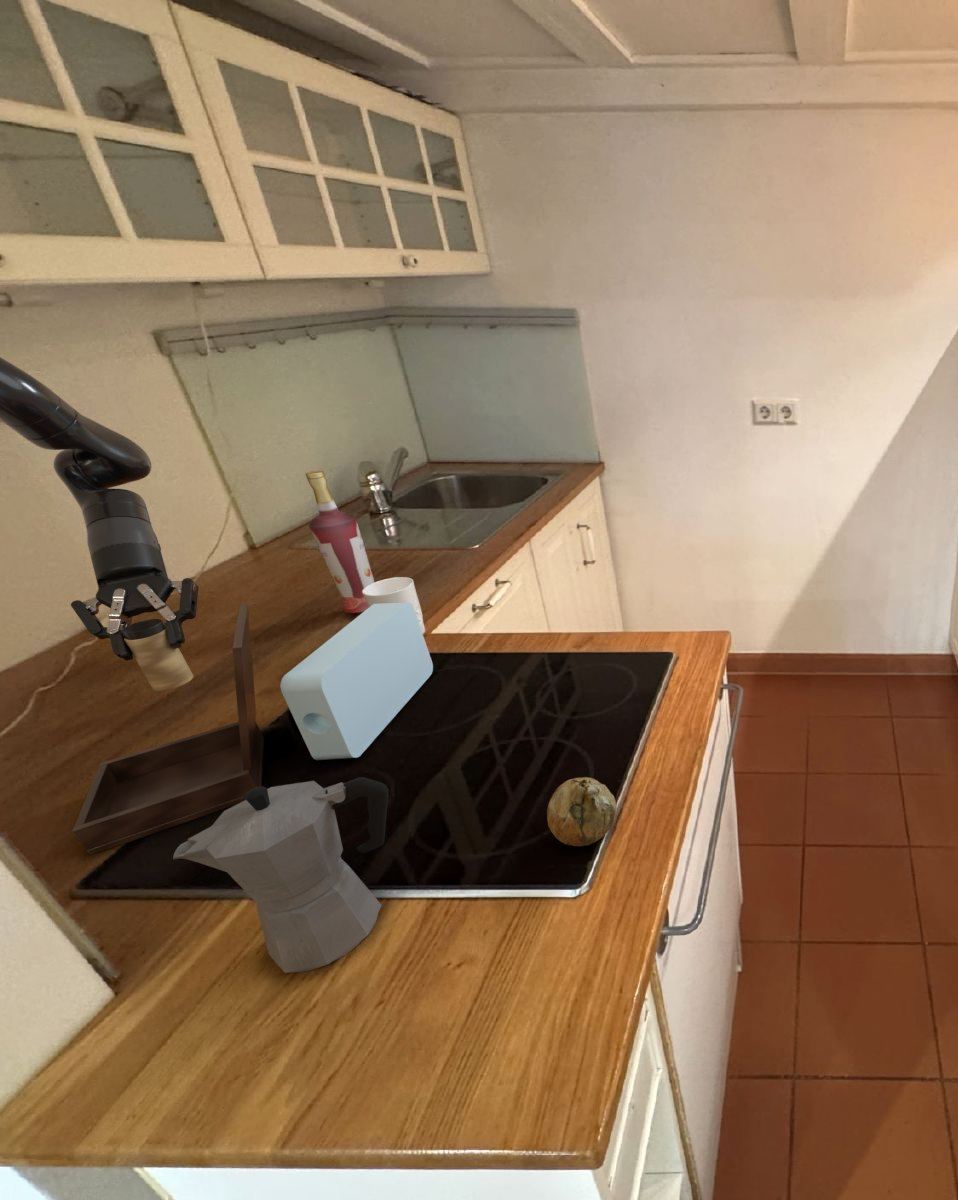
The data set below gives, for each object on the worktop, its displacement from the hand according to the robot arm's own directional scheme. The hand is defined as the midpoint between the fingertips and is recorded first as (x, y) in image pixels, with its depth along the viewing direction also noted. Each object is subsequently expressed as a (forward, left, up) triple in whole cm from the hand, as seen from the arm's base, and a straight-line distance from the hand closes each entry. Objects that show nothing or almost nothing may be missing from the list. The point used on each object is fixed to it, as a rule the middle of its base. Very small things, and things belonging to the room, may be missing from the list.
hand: (152, 651), depth 97 cm
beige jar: (0, +2, -6) cm, 7 cm away
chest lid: (+13, -26, +3) cm, 29 cm away
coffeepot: (+18, -62, -10) cm, 65 cm away
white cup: (+31, +4, -10) cm, 33 cm away
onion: (+42, -65, -10) cm, 78 cm away
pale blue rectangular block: (+25, -22, -10) cm, 35 cm away
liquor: (+26, +21, -10) cm, 35 cm away
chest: (+3, -26, -10) cm, 28 cm away
